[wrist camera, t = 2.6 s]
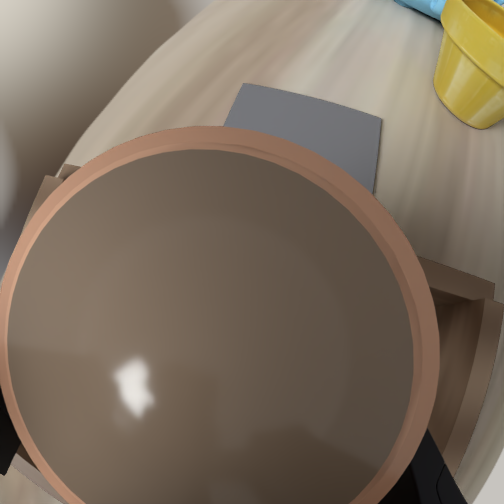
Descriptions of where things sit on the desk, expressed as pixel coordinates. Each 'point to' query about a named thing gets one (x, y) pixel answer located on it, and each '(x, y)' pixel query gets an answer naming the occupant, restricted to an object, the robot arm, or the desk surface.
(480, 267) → the desk surface
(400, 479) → the robot arm
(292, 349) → the terracotta pot
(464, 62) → the plant pot
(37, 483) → the frame
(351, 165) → the potting mat
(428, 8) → the decorative pot
